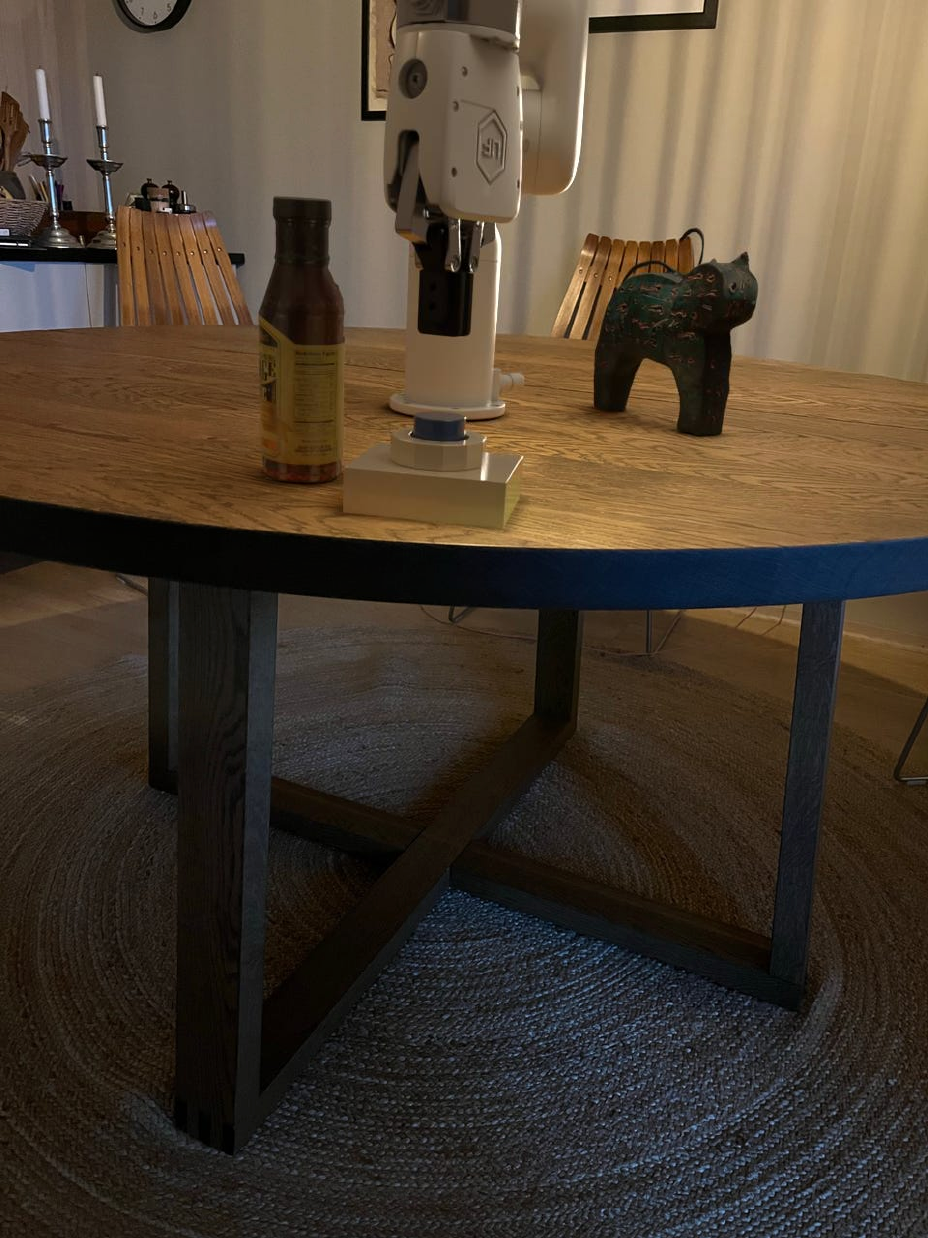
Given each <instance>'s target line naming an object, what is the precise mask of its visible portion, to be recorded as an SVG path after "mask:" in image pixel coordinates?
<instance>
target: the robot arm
mask: <svg viewBox="0 0 928 1238" xmlns="http://www.w3.org/2000/svg"><path fill="white" fill-rule="evenodd" d="M589 7H590V6H589V0H396V8H395V9H396V11H395V12H396V13H395V17H396V18H395V43H394V49H393V54H392V59H391V66H390V67H391V68H390V74H389V82H388V91H387V101H386V109H385V110H386V112H385V124H384V138H383V139H384V140H383V161H382V164H383V165H382V168H383V170H382V172H383V173H382V174H383V175H382V176H383V178H382V179H383V193H384V195H383V196H384V200H385V203H386V204H387V206H388V207H389V209H390V210H391V211H393V212H394V214H395V218H394V219H395V220H394V232H395V233H396V234H397V235H399V236H400V237H401V238H403V239H405V240H407V241H408V263H407V264H408V265H407V293H406V294H407V295H406V296H407V297H406V325H405V351H404V352H405V355H404V385H403V392H398V393H394V394H392V395H390V397H389V408H390V409H391V410H393V411H395V412H397V413H401V414H405V415H408V416H413V417H414V414H416V413H419V412H427V411H439V412H450V413H456V414H460V415H463V416H465V417H466V421H467V420H468V421H469V420H474V421H475V420H489V419H493V418H498V417H501V416H503V415H505V413H506V403H505V402H504V401H502V400H501V399H500V398H499V397H500V395H501V394H502V393H503V392H504V391H505V392H517V391H521V390H524V387H525V383H526V381H525V377H524V376H523V373H519V372H514V373H513V372H512V373H506V374H503V373H502V371H501V369H500V368H495V367H494V364H495V350H496V335H497V334H496V333H497V321H498V320H497V319H498V305H499V304H498V303H499V289H500V288H499V287H500V276H501V261H502V260H501V259H502V242H501V236H500V233H499V230H498V228H497V224H509V223H511V222H513V221H514V220H515V219H516V218H517V216H518V215H519V213H520V205H521V195H525V196H527V195H528V196H556V195H559V194H562V193H563V192H566V191H567V190H568V189H569V188H570V187H571V185H572V183H573V181H574V180H575V177H576V174H577V171H578V170H577V169H578V166H579V159H580V154H581V153H580V152H581V142H582V141H581V140H582V128H583V127H582V126H583V115H584V100H585V99H584V98H585V85H586V71H587V56H588V44H589V22H590V19H589V18H590V14H589V13H590V11H589V10H590V8H589ZM521 77H528V78H530V79H532V80H533V81H534V82H535V84H536V85H537V89H535V88H522V78H521Z"/></svg>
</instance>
